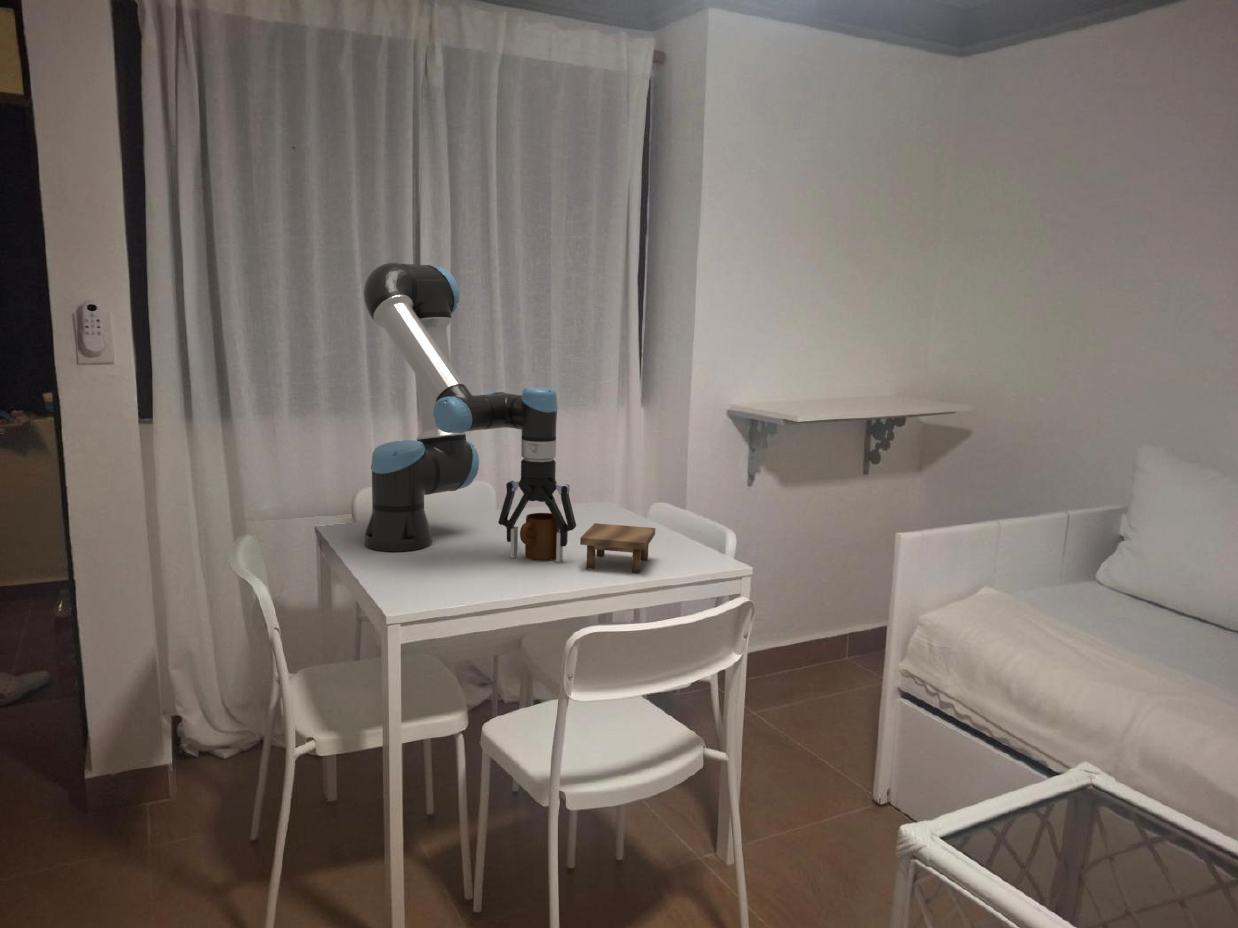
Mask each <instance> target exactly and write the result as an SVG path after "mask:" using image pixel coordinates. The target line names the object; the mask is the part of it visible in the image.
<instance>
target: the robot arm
mask: <svg viewBox="0 0 1238 928" xmlns="http://www.w3.org/2000/svg"><path fill="white" fill-rule="evenodd" d="M363 299H364V300H363V301H364V305H365V306H366V309H367V312H368V314H369V315H370V317H371V319H372V320H373V322H374V323H375V324H376V326H377V327H380V328H384V330H385V331H386V333H387V334H388V336H389V337H390V339H391V341H393V343H394V345H395V347H396V348H397V349H398V350H399V353H401V355H402V356H403V358H404V359H405V361H406V363H407V364H408V366H409V367H410V368H411V370H412V371H413V372H414V375H415V385H416V393H417V399H418V407H419V415H420V424H421V432H420V433H419V435H418V436H417V438H416V439H415V440H414V439H413V440H412V439H406V440H405V439H403V440H396V441H395V440H394V441H390V442H386V443H383V444H382V443H381V444H380V445H378V446H376V448H374V449H373V452H372V455H371V465H370V469H371V502H372V507H371V508H372V511H371V515H370V518H369V522H368V523H367V527H366V529H365V533H364V545H365V546H366V547H367V548H368V549H372V550H375V551H380V552H407V551H408V552H409V551H416V550H419V549H420V550H421V549H424V548H427V547H430V546H431V544H432V543H433V533H432V530H431V527H430V523H429V520H428V517H427V515H426V513H425V496H427V495H433V494H440V493H447V492H455V491H458V490H461V489H464V488H467V487H468V486H470V485H471V484H472V483H473V482H474V479H475V478H476V477H477V475H478V473H479V467H480V457H479V454H478V453H479V452H478V450H477V448H475V445H474V444H473V442H470V441H468V440H467V436H466V435H467V434H466V432H474V431H482V430H483V431H484V430H494V429H502V428H505V429H506V428H507V429H517V430H521V435H520V436H521V437H520V438H521V439H520V440H521V444H520V445H521V449H520V450H521V452H520V453H521V454H520V455H521V458H522V460H521V461H520V479H519V481H514V480H510V481H508V482H506V484H505V485H506V493H505V494H506V495H505V497H504V501H503V504H502V508H501V512H500V514H499V517H498V524H499V525H500V526H503V527H505V528H506V541H507V543H510V559H514V558H516V557H517V556H518V544H519V539H518V538H519V527H518V526H516V523H517V521H518V519H519V518H520V516H521V514H522V512H523V511H524V509H525V507H526V506H527V504H528V502H535V501H536V502H540V503H545V505H546V506H547V507H548V510H549V511H550V512H549V513H551V514H552V516H553V518H554V519H555V521H556V523H557V525H558V527H559V529H560V530H559V531H558V532H557V548H556V559H555V560H556V561H555V562H556V563H557V562H558V563H560V562H561V561H563V557H564V556H563V555H564V554H563V553H564V547H566V546H567V545H568V533H569V531H573V530H574V529H575V528H576V527H577V523H576V518H575V514H574V512H573V507H572V503H571V498H570V484H558V483H557V480H556V468H557V467H556V465H557V463H556V460H555V458H556V457H557V417H558V399H557V396H558V395H557V392H556V390H555V389H553V388H552V387H551V388H550V387H541V386H529V387H528V386H527V387H524V388H523V389H522V391H521V393H522V394H514V393H507V392H505V391H504V392H503V391H500V392H499V391H493V392H492V391H491V392H487V393H486V394H478V395H473V394H472V392H470V390H469V388H467V386H466V384H465V383H464V381H463V380H462V378H461V377H460V376H459V374H458V373H457V371H456V370H455V369H454V367H453V366H452V365H451V362H452V361H451V356H450V349H449V339H448V331H447V328H448V326H449V324H450V323H451V322H452V321H453V318H452V314H453V313H454V312H455V311H456V309H457V308H458V303H459V301H460V290H459V287H458V283H457V281H456V278H454V276H453V275H452V273H450V272H449V271H448V270H447V269H445V268H443V267H441V266H435V265H431V264H410V263H399V262H388V263H384V264H383V263H382V264H381V265H380V266H377V267H376V268H374V269H373V270H372V271H371V272H370V273H369V275H368V277H367V279H366V280H365V283H364V288H363ZM518 489H520V490H521V492H522V493H523V495H522V497H521V498H520V499H519V503H518V504H517V506H516V507H515V509H514V511H513V513H512V514H511V516H510V517H509V515H510V512H511V508H512V504H513V501H514V498H515V494H516V491H518ZM556 491H558V495H560V499H561V504H562V507H563V512H564V516H565V518H564V516H563V514H562V512H561V510H560V508H559V506H558V504H557V502H556V499H555V497H554V493H555V492H556ZM508 518H509V519H508Z"/></svg>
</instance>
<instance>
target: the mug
mask: <svg viewBox="0 0 1238 928" xmlns="http://www.w3.org/2000/svg"><path fill="white" fill-rule="evenodd" d="M519 530H520V531H519V538H520V540H521V542H522V543H523V544H524V547H525V548H524V555H525V557H526V558H527V559H528V560H530V561H536V562H548V561H554V560H556V548H557V532H558V531H559V530H560V529H559V527H558V525H557V523H556V521H555V519H554V518H553V516H552V514H551V512H533V513H529V514H527V515H526V516H525V522H524V523H523V524H522V525H521V527H520V529H519Z"/></svg>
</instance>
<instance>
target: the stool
mask: <svg viewBox="0 0 1238 928" xmlns="http://www.w3.org/2000/svg"><path fill="white" fill-rule="evenodd" d="M655 535H656V527H648V526H647V527H646V526H635V525H624V524H623V525H620V524H611V523H610V524H609V523H596V522H595V523H593V524H592V525H591V526H590V528H588V529H587V530H586V531H585V533H584V534H582V536H580V539H579V545H581V546H586V569H589V570H593V569H594V570H595V568H596V557H597V558H605V551H607V552H608V551H609V552H621V553H622V552H623V553H632V564H631V565H632V566H631V572H632V573H633V574H640V573H641V572H642V571H641V568H642V567H641V566H642V565H641V564H642V561H643V562H646V561H648V560H649V547H650V546H649V545H650V544H651V542H652V540H653V539H654V537H655Z"/></svg>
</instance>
